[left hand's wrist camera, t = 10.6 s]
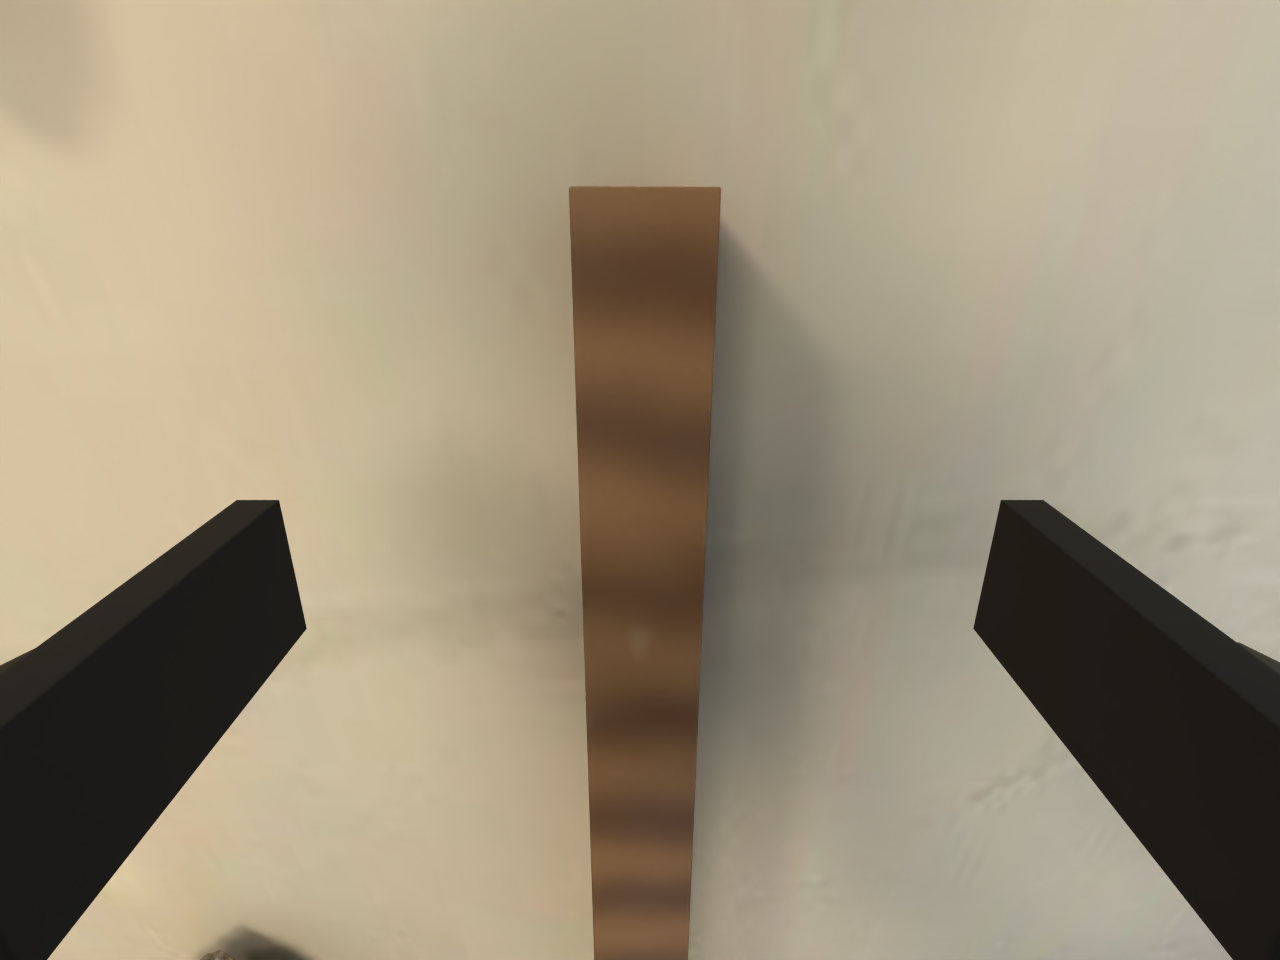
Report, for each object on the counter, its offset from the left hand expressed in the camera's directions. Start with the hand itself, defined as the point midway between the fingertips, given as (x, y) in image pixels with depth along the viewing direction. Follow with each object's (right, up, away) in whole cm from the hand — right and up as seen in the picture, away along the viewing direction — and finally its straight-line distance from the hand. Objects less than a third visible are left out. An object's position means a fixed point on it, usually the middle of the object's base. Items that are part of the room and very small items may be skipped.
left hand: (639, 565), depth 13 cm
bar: (0, -11, +25) cm, 27 cm away
